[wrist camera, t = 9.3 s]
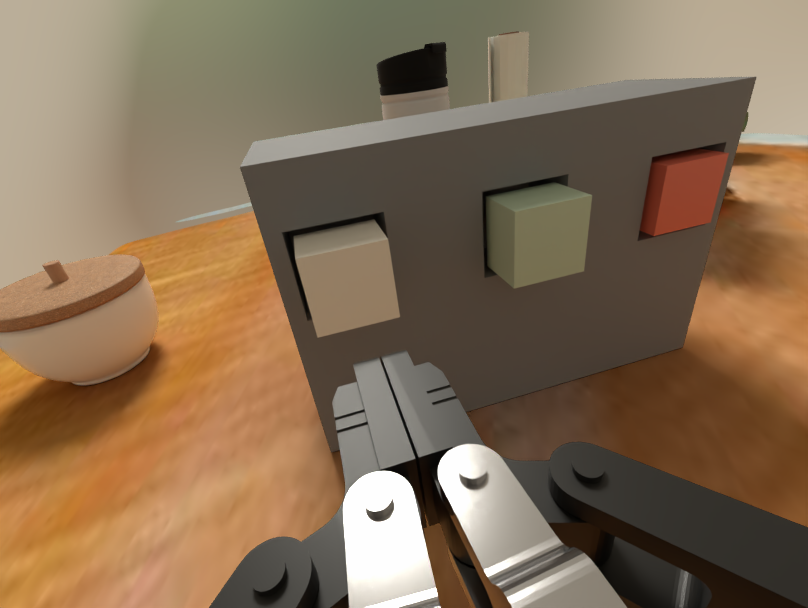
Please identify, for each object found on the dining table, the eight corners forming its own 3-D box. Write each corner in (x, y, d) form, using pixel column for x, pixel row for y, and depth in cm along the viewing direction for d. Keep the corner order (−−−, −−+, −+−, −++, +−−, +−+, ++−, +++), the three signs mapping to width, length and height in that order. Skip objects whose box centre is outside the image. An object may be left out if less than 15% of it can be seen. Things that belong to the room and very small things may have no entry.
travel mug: (436, 276, 41) (415, 44, 31) (391, 262, 45) (359, 55, 35) (472, 253, 45) (463, 40, 35) (427, 243, 49) (408, 50, 39)
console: (331, 452, 23) (240, 166, 15) (319, 365, 30) (253, 141, 22) (682, 347, 27) (756, 76, 19) (598, 292, 34) (626, 79, 26)
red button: (653, 236, 21) (667, 165, 19) (616, 221, 24) (625, 157, 22) (710, 222, 22) (729, 153, 20) (668, 209, 24) (681, 146, 22)
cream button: (317, 337, 17) (295, 259, 15) (313, 306, 19) (293, 235, 17) (400, 317, 17) (388, 239, 16) (385, 289, 20) (374, 219, 18)
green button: (514, 288, 18) (515, 211, 17) (487, 265, 21) (485, 196, 19) (583, 271, 19) (592, 195, 17) (550, 250, 21) (554, 182, 20)
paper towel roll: (518, 167, 76) (520, 32, 66) (531, 173, 71) (535, 28, 60) (481, 173, 76) (477, 38, 65) (491, 180, 71) (488, 35, 60)
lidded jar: (3, 399, 32) (-83, 296, 27) (118, 324, 41) (68, 237, 36) (102, 414, 29) (24, 301, 24) (203, 330, 37) (161, 234, 33)
